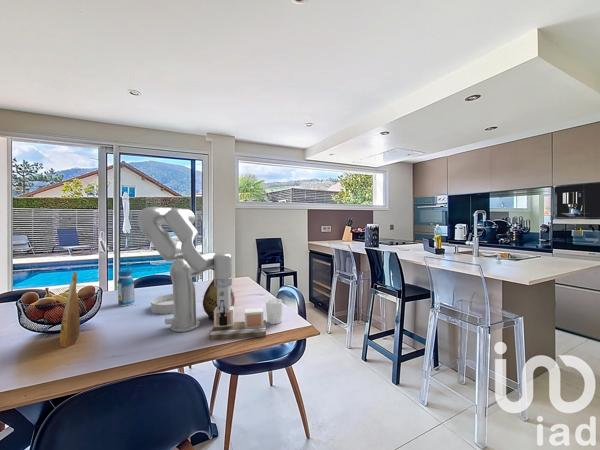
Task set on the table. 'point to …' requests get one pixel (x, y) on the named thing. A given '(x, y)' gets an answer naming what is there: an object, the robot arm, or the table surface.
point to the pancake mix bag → (70, 316)
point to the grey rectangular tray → (236, 331)
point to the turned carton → (228, 313)
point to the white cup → (274, 311)
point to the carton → (254, 318)
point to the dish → (163, 304)
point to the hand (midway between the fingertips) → (224, 322)
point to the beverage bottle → (125, 288)
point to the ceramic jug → (213, 300)
